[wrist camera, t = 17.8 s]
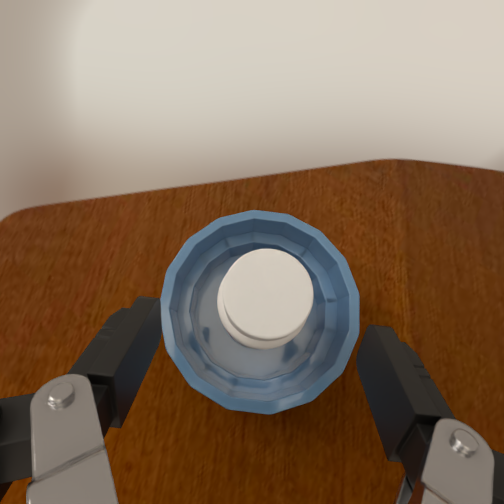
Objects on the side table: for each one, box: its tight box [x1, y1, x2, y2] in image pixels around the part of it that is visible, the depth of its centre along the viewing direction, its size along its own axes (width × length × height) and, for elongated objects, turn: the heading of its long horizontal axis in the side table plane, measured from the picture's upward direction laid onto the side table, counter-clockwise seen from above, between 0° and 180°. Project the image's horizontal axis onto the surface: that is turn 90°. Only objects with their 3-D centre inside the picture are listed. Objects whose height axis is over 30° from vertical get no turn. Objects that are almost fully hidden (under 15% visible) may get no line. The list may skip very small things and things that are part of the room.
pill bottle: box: [217, 249, 314, 349], centre depth 16 cm, size 5×5×8 cm
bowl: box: [160, 210, 359, 415], centre depth 19 cm, size 11×11×5 cm
